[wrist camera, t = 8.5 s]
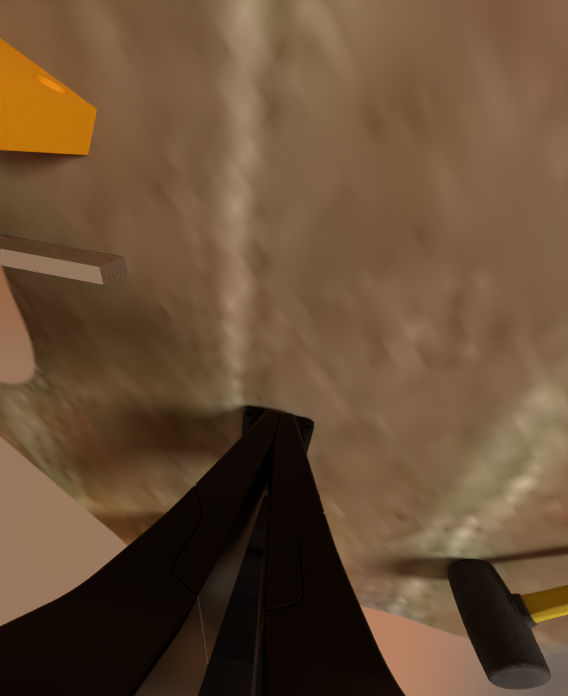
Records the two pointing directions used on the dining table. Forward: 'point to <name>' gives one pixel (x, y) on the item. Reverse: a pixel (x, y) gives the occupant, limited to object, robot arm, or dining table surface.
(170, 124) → the dining table surface
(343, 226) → the dining table surface
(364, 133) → the dining table surface
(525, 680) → the mallet
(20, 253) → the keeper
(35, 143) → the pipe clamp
